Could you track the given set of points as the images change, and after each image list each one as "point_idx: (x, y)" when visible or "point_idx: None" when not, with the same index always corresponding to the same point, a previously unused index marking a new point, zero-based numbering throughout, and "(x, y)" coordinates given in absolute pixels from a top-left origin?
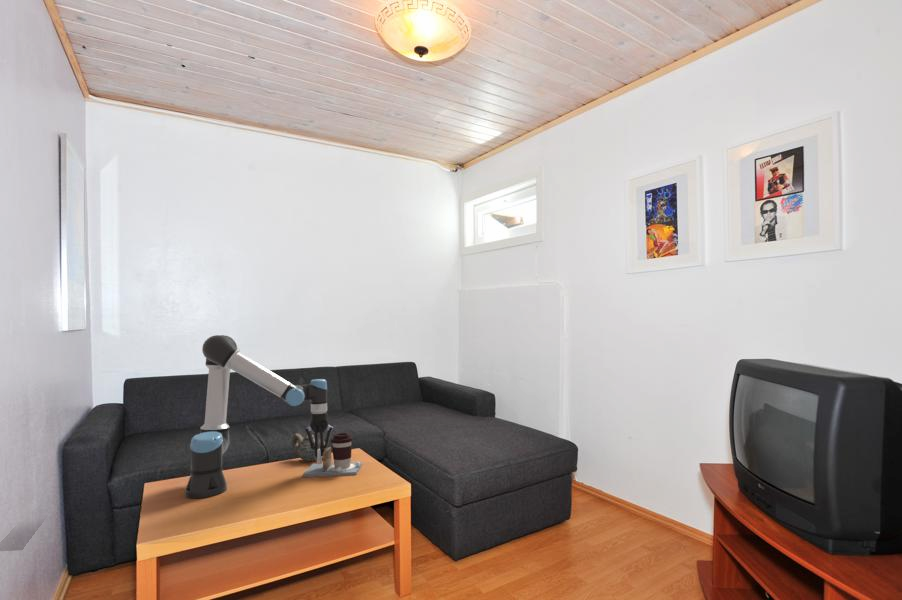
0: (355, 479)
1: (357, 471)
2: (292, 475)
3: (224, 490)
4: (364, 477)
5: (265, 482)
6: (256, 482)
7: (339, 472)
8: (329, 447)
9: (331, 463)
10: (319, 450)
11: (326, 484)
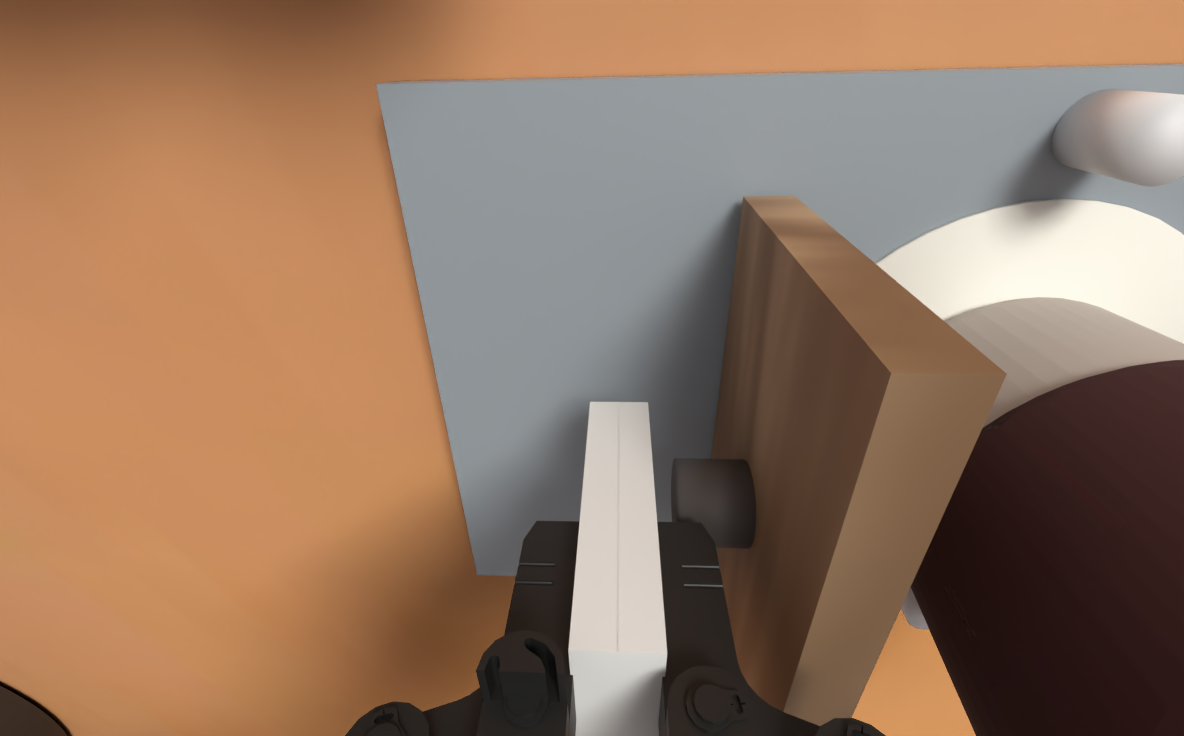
0: None
1: None
2: (331, 488)
3: (53, 730)
4: None
5: (200, 620)
6: (113, 610)
7: None
8: (917, 458)
9: (787, 113)
10: (633, 726)
11: None
